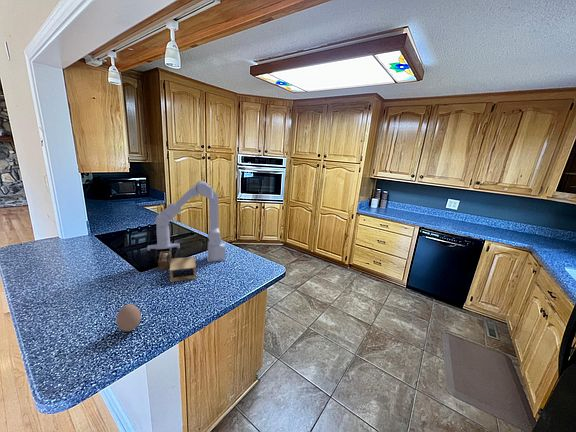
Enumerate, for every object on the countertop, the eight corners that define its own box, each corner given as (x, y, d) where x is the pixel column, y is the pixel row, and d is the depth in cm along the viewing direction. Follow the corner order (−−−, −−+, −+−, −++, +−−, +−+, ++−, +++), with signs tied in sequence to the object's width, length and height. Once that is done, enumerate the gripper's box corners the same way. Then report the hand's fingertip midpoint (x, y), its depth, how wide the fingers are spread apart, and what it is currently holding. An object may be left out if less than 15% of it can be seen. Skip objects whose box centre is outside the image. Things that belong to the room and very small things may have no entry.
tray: (171, 258, 128) (170, 250, 127) (169, 269, 117) (169, 261, 116) (160, 259, 126) (160, 251, 125) (158, 270, 115) (157, 262, 114)
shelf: (195, 267, 121) (194, 256, 120) (196, 278, 111) (195, 267, 109) (171, 269, 117) (171, 258, 115) (170, 281, 106) (169, 269, 105)
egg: (116, 328, 77) (112, 304, 75) (138, 319, 82) (136, 296, 80) (120, 340, 73) (117, 315, 71) (144, 330, 77) (142, 306, 75)
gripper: (179, 233, 124) (180, 257, 128) (148, 235, 119) (149, 259, 122) (179, 238, 118) (179, 262, 121) (145, 240, 112) (147, 265, 116)
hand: (164, 261), depth 121 cm, fingers open, 7 cm apart
